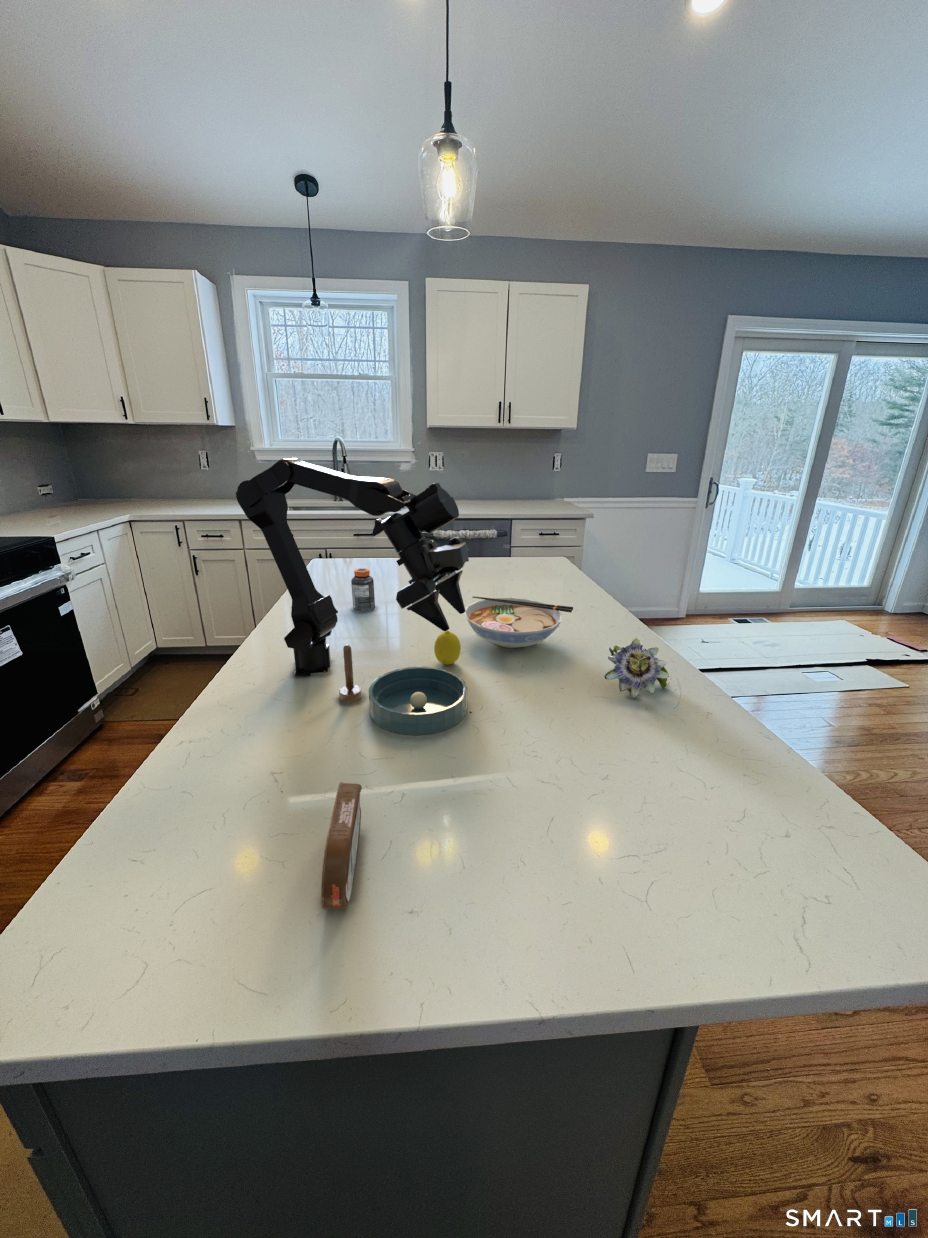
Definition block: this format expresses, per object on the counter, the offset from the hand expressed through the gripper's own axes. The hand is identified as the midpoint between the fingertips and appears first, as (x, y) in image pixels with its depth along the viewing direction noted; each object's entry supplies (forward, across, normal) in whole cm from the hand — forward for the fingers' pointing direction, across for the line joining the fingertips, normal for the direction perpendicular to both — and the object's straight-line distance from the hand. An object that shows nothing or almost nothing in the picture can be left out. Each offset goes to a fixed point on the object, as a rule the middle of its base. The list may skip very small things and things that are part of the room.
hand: (455, 621), depth 92 cm
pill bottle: (-8, +36, +40) cm, 55 cm away
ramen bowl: (+15, +28, +4) cm, 32 cm away
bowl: (+10, -8, +12) cm, 17 cm away
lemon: (+10, +11, +13) cm, 19 cm away
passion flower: (+30, +14, -19) cm, 39 cm away
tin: (+13, -43, +7) cm, 45 cm away
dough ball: (+10, -8, +11) cm, 17 cm away
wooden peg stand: (+3, -8, +23) cm, 24 cm away
